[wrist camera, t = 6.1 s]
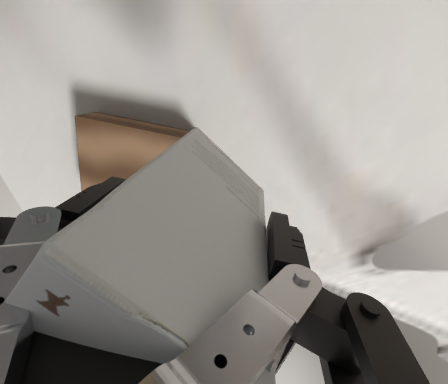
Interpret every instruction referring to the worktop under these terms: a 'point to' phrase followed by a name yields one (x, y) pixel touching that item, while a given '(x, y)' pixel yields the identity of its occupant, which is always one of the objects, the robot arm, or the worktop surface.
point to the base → (118, 146)
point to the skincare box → (153, 257)
